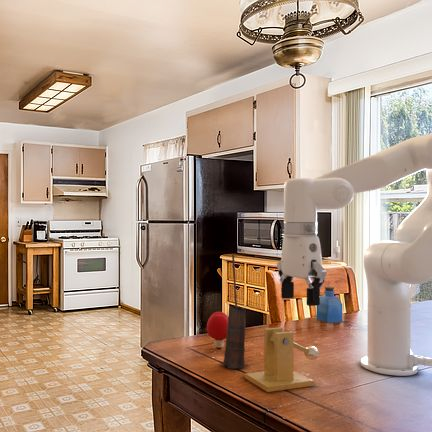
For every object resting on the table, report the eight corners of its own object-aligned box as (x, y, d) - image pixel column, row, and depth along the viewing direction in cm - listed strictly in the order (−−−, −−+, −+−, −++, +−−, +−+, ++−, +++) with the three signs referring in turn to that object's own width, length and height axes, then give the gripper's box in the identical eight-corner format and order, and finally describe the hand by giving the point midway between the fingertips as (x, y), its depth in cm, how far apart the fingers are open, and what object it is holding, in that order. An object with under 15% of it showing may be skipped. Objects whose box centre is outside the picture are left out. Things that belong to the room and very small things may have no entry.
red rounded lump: (231, 354, 129) (231, 317, 129) (205, 352, 130) (205, 316, 130) (231, 344, 138) (231, 310, 138) (207, 343, 139) (207, 309, 139)
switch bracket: (288, 372, 114) (288, 324, 114) (313, 385, 105) (313, 333, 105) (245, 378, 110) (245, 327, 110) (267, 392, 101) (267, 337, 101)
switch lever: (309, 359, 112) (314, 347, 113) (318, 363, 109) (323, 350, 110) (267, 341, 108) (272, 327, 109) (275, 344, 105) (280, 331, 106)
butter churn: (263, 371, 114) (263, 256, 114) (226, 374, 113) (226, 257, 112) (247, 360, 123) (248, 253, 123) (213, 362, 122) (213, 254, 121)
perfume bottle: (316, 319, 172) (316, 286, 172) (330, 317, 174) (330, 285, 174) (327, 322, 166) (327, 288, 166) (342, 321, 168) (342, 288, 168)
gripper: (338, 231, 106) (338, 307, 106) (291, 228, 122) (291, 294, 122) (310, 231, 103) (310, 309, 103) (266, 229, 120) (266, 296, 120)
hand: (299, 301), depth 113 cm, fingers open, 9 cm apart
